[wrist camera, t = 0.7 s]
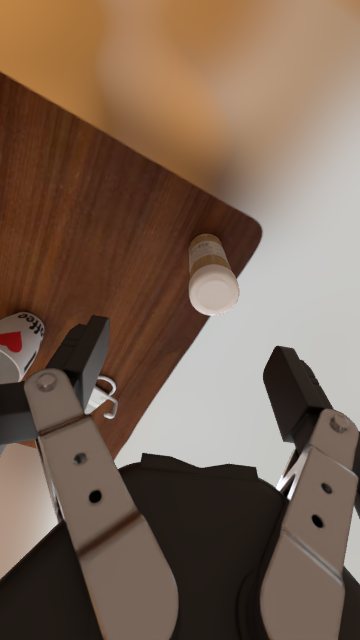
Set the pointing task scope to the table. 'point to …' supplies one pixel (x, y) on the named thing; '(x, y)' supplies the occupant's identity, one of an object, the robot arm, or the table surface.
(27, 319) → the cup
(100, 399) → the wall mount rack
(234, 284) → the sprinkles bottle
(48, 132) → the table surface
